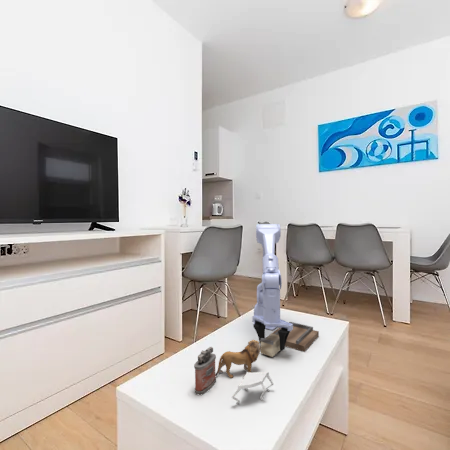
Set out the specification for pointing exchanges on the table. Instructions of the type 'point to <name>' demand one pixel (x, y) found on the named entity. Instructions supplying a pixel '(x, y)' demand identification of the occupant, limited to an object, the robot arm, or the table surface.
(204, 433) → the table surface
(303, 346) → the dock
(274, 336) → the beige lidded box
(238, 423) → the table surface
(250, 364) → the lion figurine
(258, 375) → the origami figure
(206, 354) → the lighter
